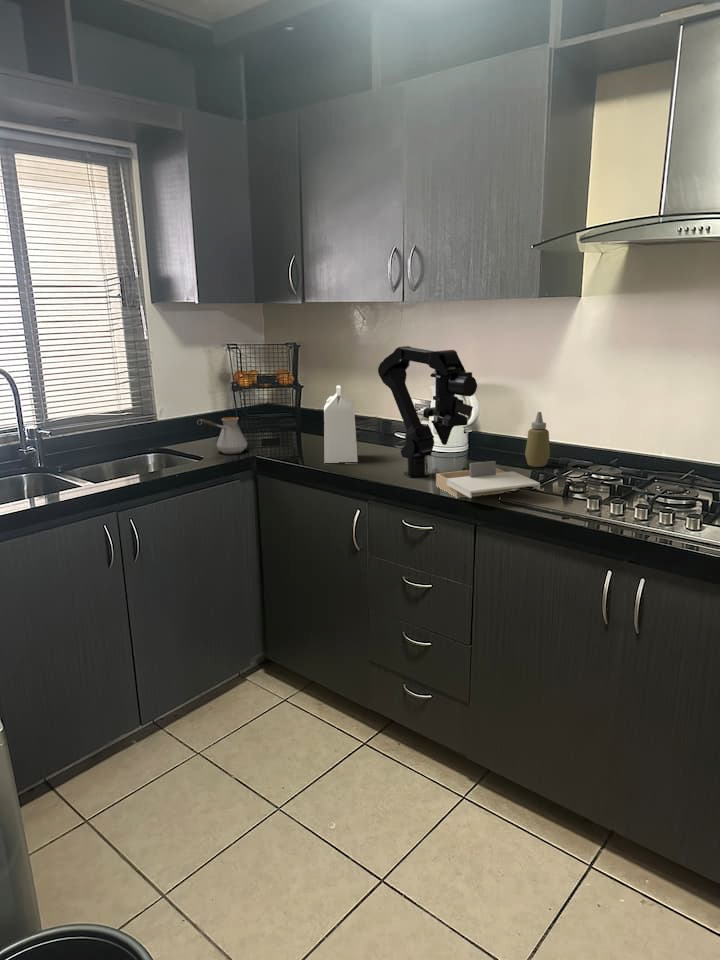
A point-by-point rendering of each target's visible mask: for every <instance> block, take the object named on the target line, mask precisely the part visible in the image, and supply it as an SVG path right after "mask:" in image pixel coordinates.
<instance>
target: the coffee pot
mask: <svg viewBox="0 0 720 960" xmlns="http://www.w3.org/2000/svg"><path fill="white" fill-rule="evenodd" d="M239 420H240V418H239V417H237V416H236V417H234V416H229V417H223V418H221V420H220V421H222V425H220V424H219V423H215V422H212V421H210V420H206V419H203V418H199V419H197V424H198V425H199V426H200V425H201V424H207V425H210V426H214V427H217V428H220V429H221V431H220V434H219V437H218V440H217V443H216V448H217V450H219V451H220V452H221V454H225V455H233V454H234V455H236V454H241V453H242V452H244V450H245V449H246V448H247V447H248V442H247V440H246V438H245V436H244V434H243V432H242V430H241V428H240V426H239V424H238V421H239ZM199 421H200V424H199Z"/></svg>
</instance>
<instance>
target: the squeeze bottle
mask: <svg viewBox="0 0 720 960" xmlns="http://www.w3.org/2000/svg"><path fill="white" fill-rule="evenodd" d="M543 420H544V419H543V414H542V411H538V412H537V414H536V417H535V420H534V421H533V422H531V425H530V426H531V428H530V429H529V430H528V432H527V437H526V445H525V450H524V451H525V452H524V456H525V459H526V462H527V465H528V466H530V467H534V468H542V467H546V466H547V464H548V461H549V459H550V456H551V451H550V450H551V449H550V431H549V430H548V429H547V423H546V422H544V421H543ZM545 465H546V466H545Z"/></svg>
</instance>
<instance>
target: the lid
mask: <svg viewBox="0 0 720 960" xmlns="http://www.w3.org/2000/svg"><path fill="white" fill-rule="evenodd" d="M496 468H497V462H496V460H490V461H487V460H486V461H480V462H479V461H477V462H470V463H469V469H468V470H469V476H465V477H456V478H447V485H448V486H449V487H451V488H453V489H455V490H457V491H458V492H460V493H462V494H464V495H466V496H467V497H466V498H469V499H472V498H473V497H472V493H477V492H485V491H493V490H502V489H510V488H519V489H520V488H526V487H531V488H533V489H536V490H540V489H541V483H540V482H539V481H537V480H534V479H531V478H529V477H527V476H525V475H522V474H520V473H518V472H516V471H505V472H502V473H496Z"/></svg>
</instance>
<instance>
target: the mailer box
mask: <svg viewBox="0 0 720 960" xmlns="http://www.w3.org/2000/svg"><path fill="white" fill-rule="evenodd" d="M502 472H506V471H505V470H502V469H500V468H498V467H496V473H502ZM465 476H469V469H468V470H467V469H466V470H457V471H450V472H449V471H447V472H440V473H436V474H435V487H436V486H437V487H436V488H438V487H439V488H440V490H441V489H442V490H441V491H443V490H444V491H443V492H445V491H446V492H448V493H449V495H450V494H451V495H450V496H452V495H453V496H455V497H456V498H455V497H454V498H455V499H457V498H458V499H460V498H459V497H466V498H468V497H467V496H466V495H464V494H462V493H460V492H458V491H457V490H455V489H453V488H451V487H449V486H448V485H447V478H456V477H465ZM439 488H438V489H439ZM512 489H516V488H510V489H502V490H493V491H485V492H477V493H472V496H474V497H482V495H483V496H489V495H490V496H491V495H497V494H498V495H499V494H505V493H504V492H507V491H510V490H512ZM446 492H445V493H446ZM448 493H447V494H448ZM507 493H508V492H507ZM453 496H452V497H453Z"/></svg>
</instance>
